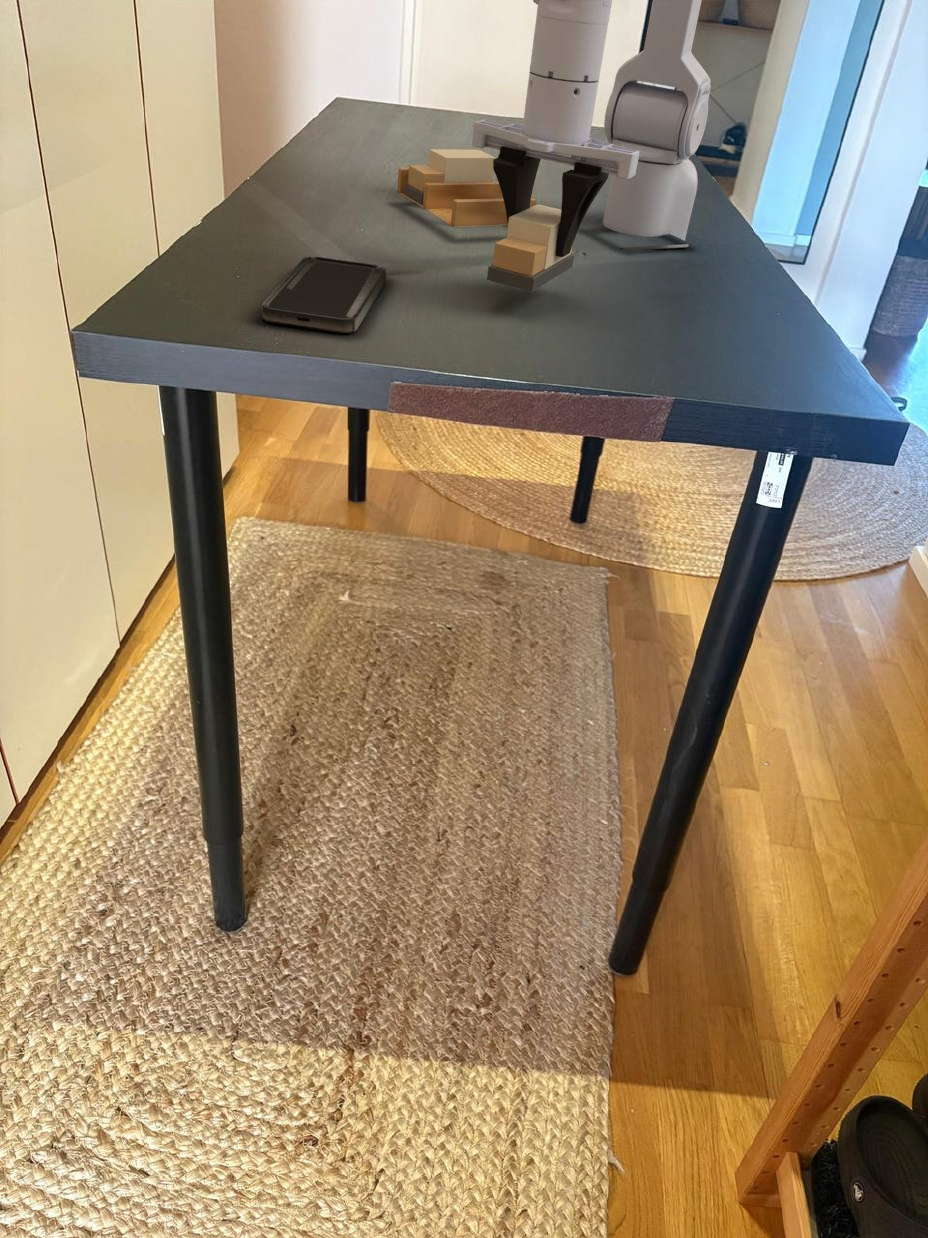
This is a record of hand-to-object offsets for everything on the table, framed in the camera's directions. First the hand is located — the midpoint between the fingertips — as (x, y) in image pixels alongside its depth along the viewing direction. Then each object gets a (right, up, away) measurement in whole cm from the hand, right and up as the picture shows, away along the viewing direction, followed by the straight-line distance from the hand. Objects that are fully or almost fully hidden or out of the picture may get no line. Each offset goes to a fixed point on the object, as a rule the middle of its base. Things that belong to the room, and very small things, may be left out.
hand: (539, 248), depth 83 cm
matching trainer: (-8, +15, +23) cm, 29 cm away
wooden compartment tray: (-7, +12, +22) cm, 26 cm away
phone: (-19, -6, -3) cm, 20 cm away
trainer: (-1, -2, 0) cm, 2 cm away
